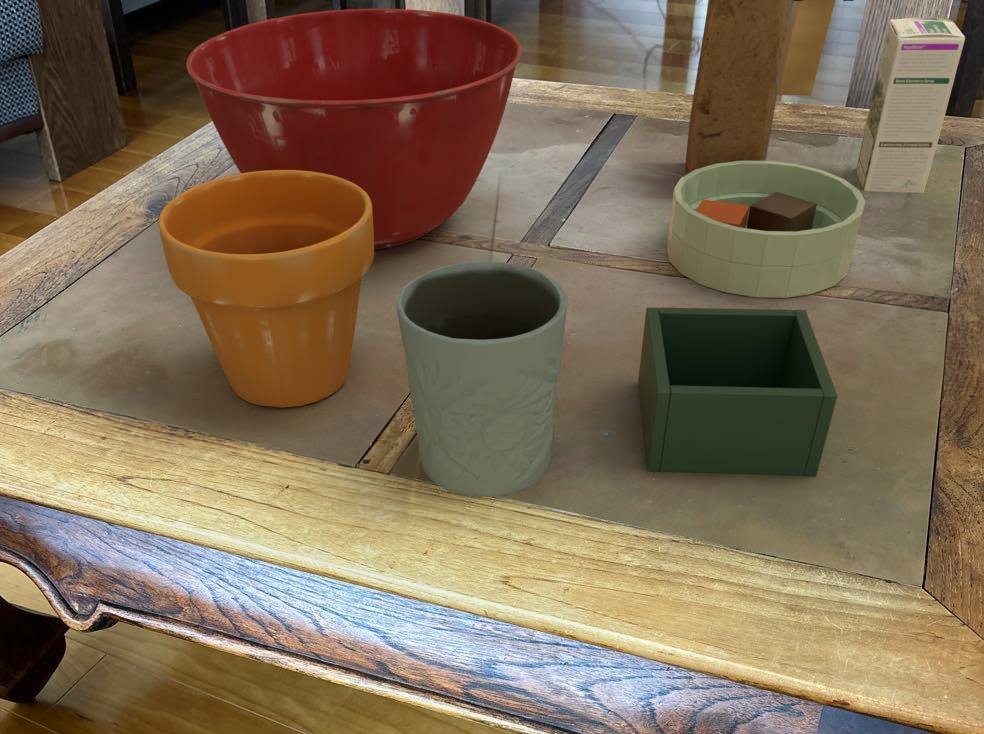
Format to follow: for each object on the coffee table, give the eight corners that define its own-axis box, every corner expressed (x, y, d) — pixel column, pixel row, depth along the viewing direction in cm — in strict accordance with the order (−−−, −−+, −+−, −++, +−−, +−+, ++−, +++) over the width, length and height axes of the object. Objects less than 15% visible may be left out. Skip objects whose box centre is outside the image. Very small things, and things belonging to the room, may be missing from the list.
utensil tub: (786, 392, 73) (805, 309, 69) (814, 483, 65) (837, 396, 61) (637, 389, 74) (646, 306, 70) (646, 478, 66) (657, 391, 62)
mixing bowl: (297, 152, 111) (279, -5, 101) (552, 179, 104) (559, 13, 94) (161, 265, 91) (120, 84, 81) (463, 309, 84) (460, 115, 74)
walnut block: (807, 248, 89) (817, 203, 86) (782, 263, 87) (791, 218, 84) (767, 235, 91) (775, 191, 89) (742, 249, 89) (749, 205, 87)
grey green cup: (517, 528, 63) (521, 357, 55) (377, 482, 67) (362, 316, 59) (582, 442, 69) (595, 278, 61) (451, 404, 73) (447, 246, 65)
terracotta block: (741, 249, 89) (749, 205, 87) (732, 269, 86) (739, 224, 84) (696, 242, 90) (702, 198, 88) (685, 261, 88) (691, 217, 85)
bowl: (828, 226, 94) (843, 160, 90) (865, 306, 82) (884, 235, 78) (660, 224, 95) (667, 159, 91) (673, 303, 84) (683, 233, 80)
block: (758, 209, 97) (800, -27, 84) (678, 204, 98) (707, -29, 85) (760, 167, 105) (799, -55, 92) (686, 162, 106) (714, -57, 93)
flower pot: (230, 323, 83) (201, 164, 74) (401, 334, 81) (391, 172, 72) (165, 422, 72) (122, 249, 64) (360, 438, 70) (342, 261, 62)
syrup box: (924, 198, 98) (971, 34, 88) (859, 196, 98) (899, 34, 89) (913, 175, 102) (957, 17, 92) (851, 173, 103) (888, 16, 93)
